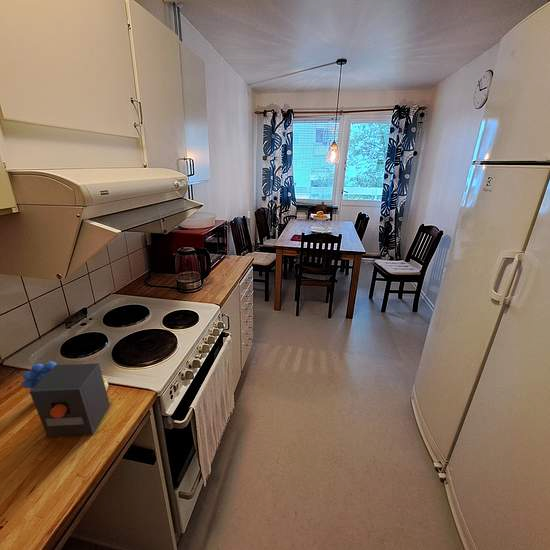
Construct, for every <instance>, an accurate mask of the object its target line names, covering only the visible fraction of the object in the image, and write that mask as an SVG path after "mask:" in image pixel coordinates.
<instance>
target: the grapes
mask: <svg viewBox="0 0 550 550" xmlns="http://www.w3.org/2000/svg"><path fill="white" fill-rule="evenodd" d="M55 365H58V364H57V362H55V361H47V362H46V363H45V364H42V363H35V364H33V365H32V366H31V370H26V371H24V372H23V373H22V378H23V379H24V380H23V381H22V382H21V385H22V388H24V389H30V391H31V390H32V389H33V388H34V387H35V386H36V385H37V383H38V382H39V381H40V380H41V379H42V378H43V377H44V376H45V375H46V374H47V373H48V372H49V371H50V370H51V369H52V368H53V367H54V366H55Z"/></svg>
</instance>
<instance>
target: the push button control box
mask: <svg viewBox="0 0 550 550" xmlns="http://www.w3.org/2000/svg"><path fill="white" fill-rule="evenodd" d="M103 378H104V376H103V373H102V370H101V366H100V363H77V364H76V363H72V364H57V365H55V366H54V367H53V368H52V369H51V370H50V371H49V372H48V373H47V374H46V375H45V376H44V377H43V378H42V379H41V380H40V381H39V382H38V383H37V385H36V386H35V387H34V388H33V389H32V390H31V389H30V390H29V394H30V397H31V399H32V402H33V404H34V407H35V409H36V411H37V414H38V417H39V419H40V422H41V424H42V427H43V429H44V432H45V434H46V437H47V438H50V437H51V438H53V437H54V438H55V437H69V436H87V435H88V436H89V435H94V434H95V432H96V431H97V428H98V427H99V425H100V423H101V422H102V420H103V419H104V416H105V415H106V413H107V411H108V409H109V408H110V405H111V404H110V399H109V396H108V392H107V391H106V388H105V384H104V381H103ZM57 404H62V405H64V406H66V408H67V411H66V413H65V414H64V415H63V417H61V418H55V417H53V416H51V414H50V411H51V410H52V408H53V407H54V406H55V405H57Z"/></svg>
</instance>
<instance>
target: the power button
mask: <svg viewBox="0 0 550 550" xmlns="http://www.w3.org/2000/svg"><path fill="white" fill-rule="evenodd" d="M66 411H67V408H66V406H64V405H62V404H57V405H55V406H54V407H53V408H52V410H51V411H50V414H51V416H53V417H55V418H61V417H63V415H64V414H65V413H66Z"/></svg>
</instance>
